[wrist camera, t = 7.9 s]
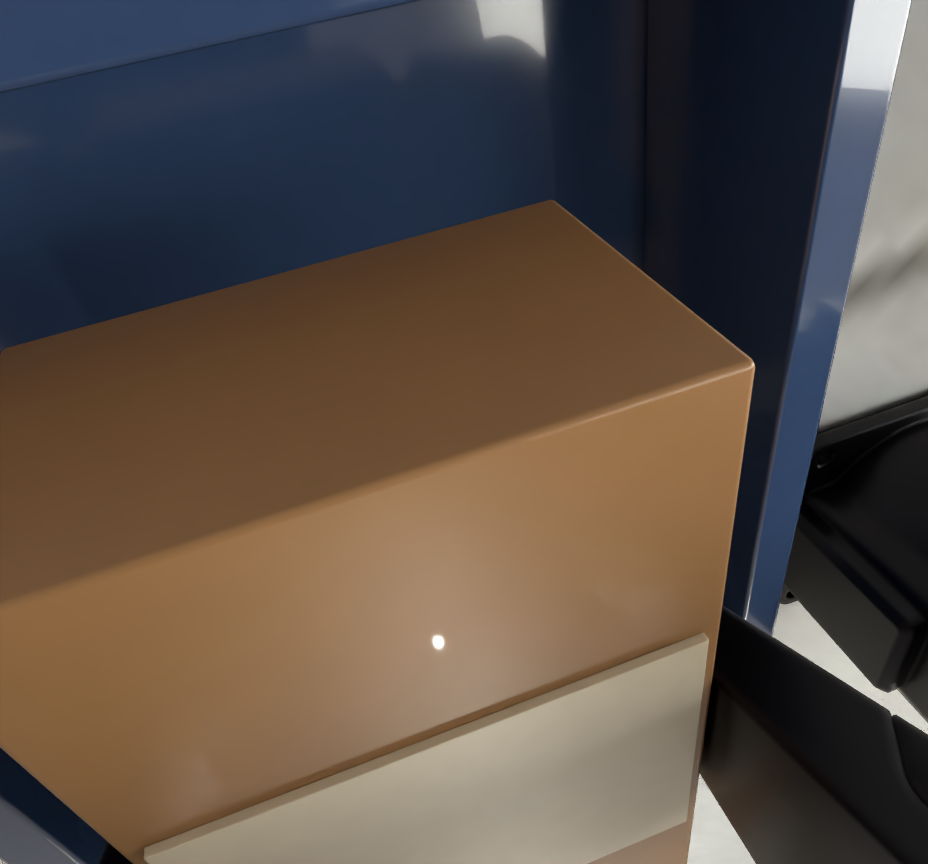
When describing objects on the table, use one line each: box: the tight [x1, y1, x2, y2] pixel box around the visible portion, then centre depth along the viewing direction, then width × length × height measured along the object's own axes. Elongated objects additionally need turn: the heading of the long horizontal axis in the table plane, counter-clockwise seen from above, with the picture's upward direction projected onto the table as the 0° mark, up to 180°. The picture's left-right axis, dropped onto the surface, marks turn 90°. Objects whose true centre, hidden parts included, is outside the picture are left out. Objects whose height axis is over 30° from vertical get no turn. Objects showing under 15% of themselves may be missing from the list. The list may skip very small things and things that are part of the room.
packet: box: [0, 200, 755, 864], centre depth 9 cm, size 6×10×4 cm, turn 8°
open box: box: [0, 0, 912, 864], centre depth 12 cm, size 14×16×5 cm
